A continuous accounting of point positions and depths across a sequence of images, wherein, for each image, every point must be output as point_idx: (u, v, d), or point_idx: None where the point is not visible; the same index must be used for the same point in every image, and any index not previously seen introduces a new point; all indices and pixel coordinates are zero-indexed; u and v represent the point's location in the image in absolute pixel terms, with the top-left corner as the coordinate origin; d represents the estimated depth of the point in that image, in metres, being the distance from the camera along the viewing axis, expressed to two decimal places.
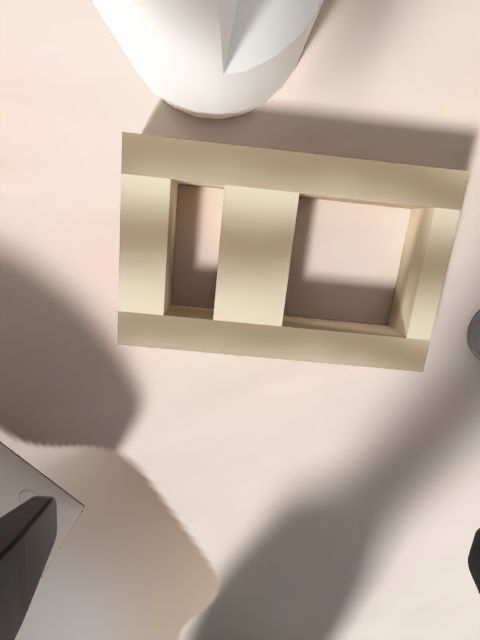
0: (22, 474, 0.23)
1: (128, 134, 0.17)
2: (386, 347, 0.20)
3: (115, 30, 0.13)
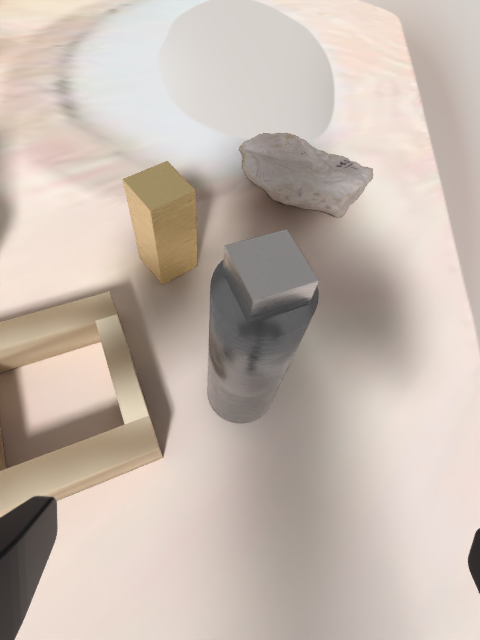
0: None
1: None
2: (108, 442, 0.19)
3: None
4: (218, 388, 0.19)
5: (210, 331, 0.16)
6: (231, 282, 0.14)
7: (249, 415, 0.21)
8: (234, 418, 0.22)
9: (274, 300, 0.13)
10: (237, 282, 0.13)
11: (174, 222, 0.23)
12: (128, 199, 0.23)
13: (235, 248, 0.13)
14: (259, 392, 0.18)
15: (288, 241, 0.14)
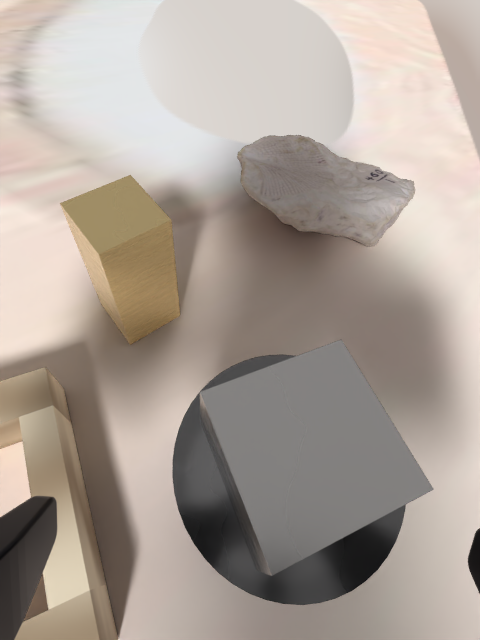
0: None
1: None
2: None
3: None
4: None
5: None
6: (217, 461, 0.06)
7: None
8: None
9: (324, 544, 0.05)
10: (231, 483, 0.05)
11: (140, 267, 0.16)
12: (72, 232, 0.16)
13: (225, 399, 0.06)
14: None
15: (347, 373, 0.06)
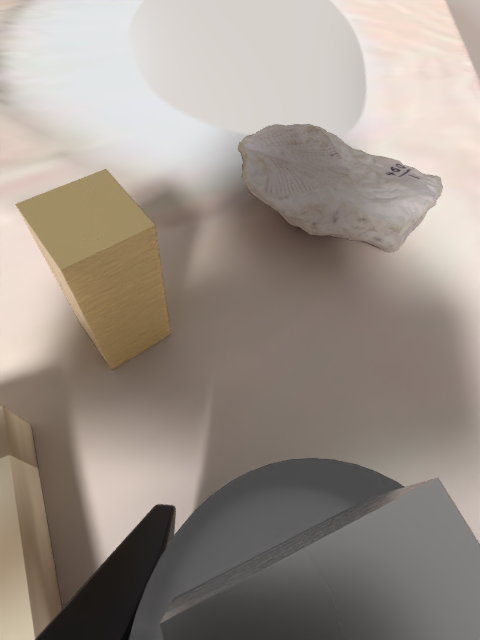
0: None
1: None
2: None
3: None
4: None
5: None
6: None
7: None
8: None
9: None
10: None
11: (118, 283, 0.13)
12: None
13: None
14: None
15: (458, 559, 0.03)
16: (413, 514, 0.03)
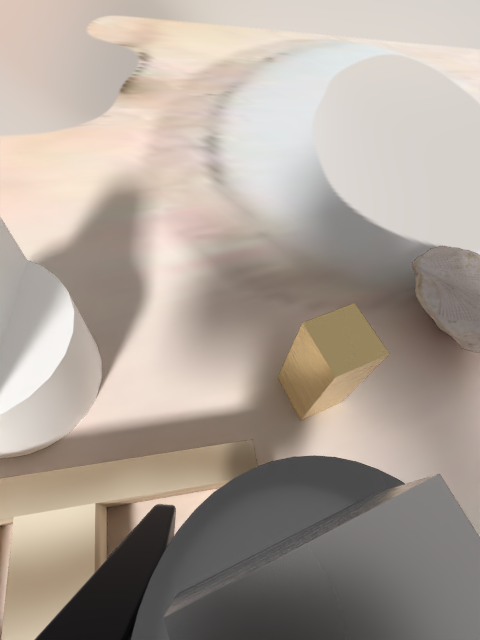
0: None
1: None
2: None
3: None
4: None
5: None
6: None
7: None
8: None
9: None
10: None
11: (348, 379, 0.19)
12: (297, 338, 0.20)
13: (217, 635, 0.03)
14: None
15: (460, 554, 0.03)
16: (415, 510, 0.03)
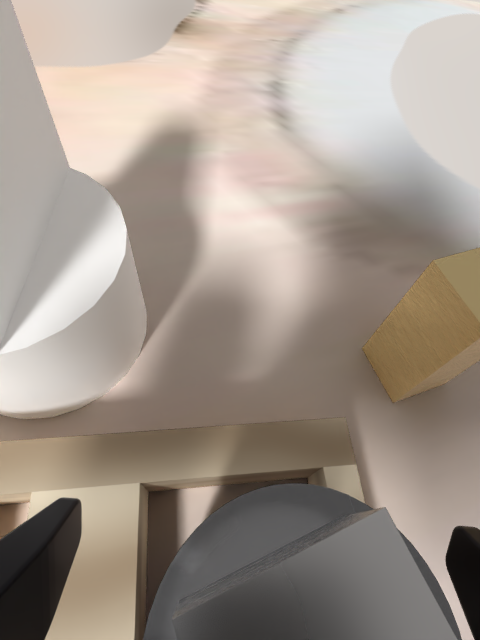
0: None
1: None
2: None
3: None
4: None
5: None
6: None
7: None
8: None
9: None
10: None
11: None
12: (416, 286, 0.15)
13: (211, 633, 0.04)
14: None
15: (397, 572, 0.04)
16: (364, 536, 0.04)
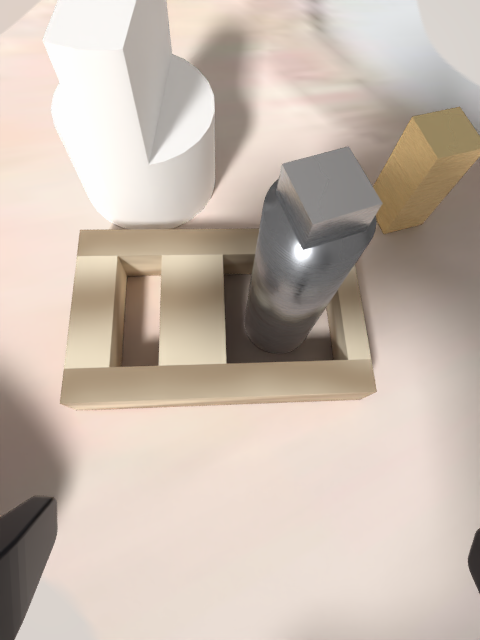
0: None
1: (84, 230, 0.23)
2: (332, 371, 0.20)
3: (75, 149, 0.20)
4: (259, 318, 0.19)
5: (257, 258, 0.16)
6: (286, 205, 0.13)
7: (287, 345, 0.22)
8: (271, 348, 0.22)
9: (334, 224, 0.12)
10: (294, 204, 0.12)
11: (443, 176, 0.22)
12: (401, 138, 0.22)
13: (293, 167, 0.12)
14: (301, 322, 0.18)
15: (349, 160, 0.13)
16: (340, 151, 0.13)
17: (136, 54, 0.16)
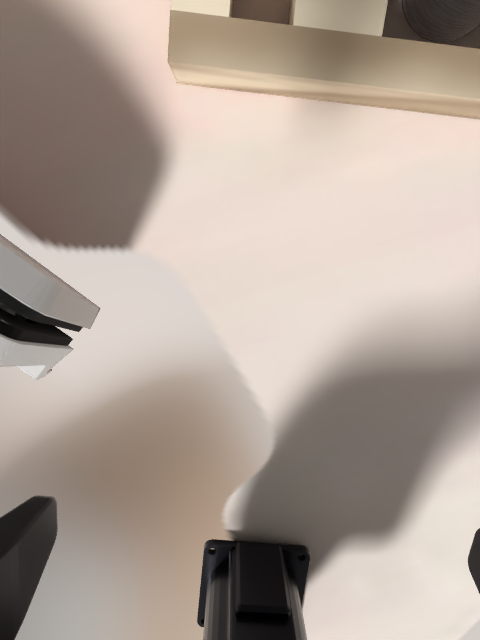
0: (15, 247, 0.18)
1: None
2: None
3: None
4: None
5: None
6: None
7: (460, 26, 0.16)
8: (434, 30, 0.17)
9: None
10: None
11: None
12: None
13: None
14: None
15: None
16: None
17: None
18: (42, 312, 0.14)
